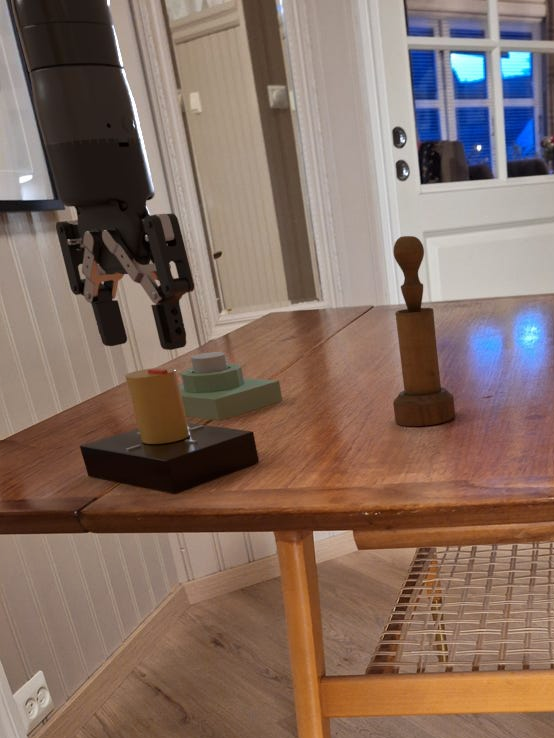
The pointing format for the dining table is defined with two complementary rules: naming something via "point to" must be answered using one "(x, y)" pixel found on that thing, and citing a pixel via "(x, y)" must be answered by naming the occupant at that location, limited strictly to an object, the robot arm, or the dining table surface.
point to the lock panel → (170, 458)
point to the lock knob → (158, 405)
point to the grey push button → (209, 362)
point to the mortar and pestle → (418, 348)
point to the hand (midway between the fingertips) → (144, 346)
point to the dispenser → (225, 393)
